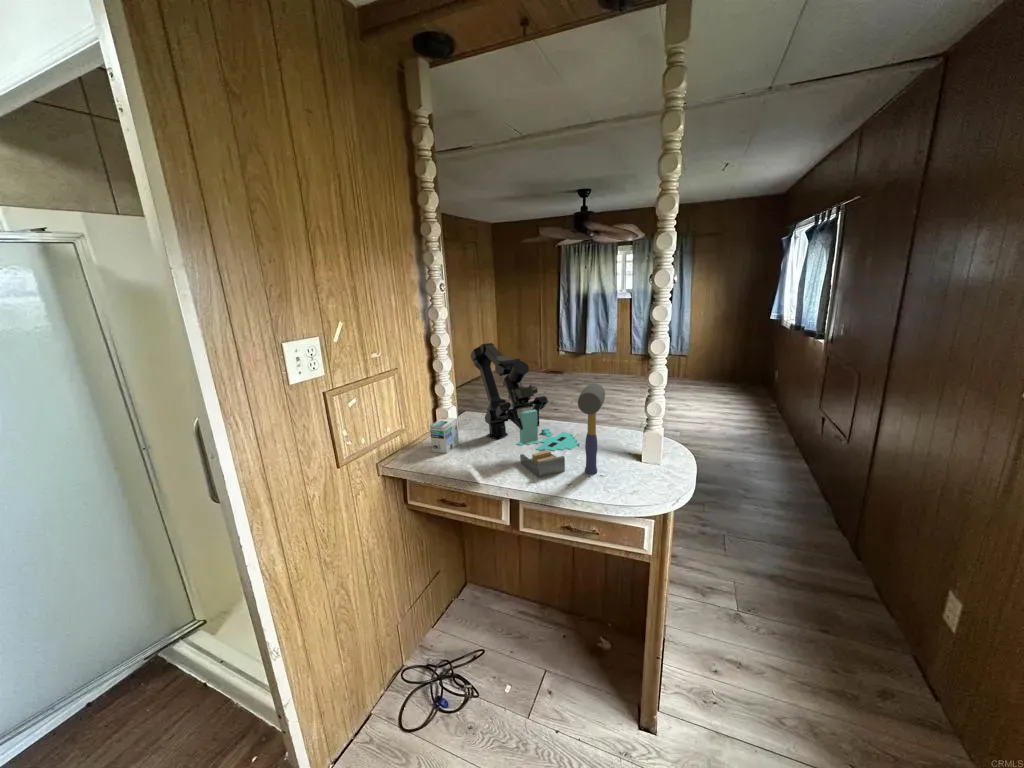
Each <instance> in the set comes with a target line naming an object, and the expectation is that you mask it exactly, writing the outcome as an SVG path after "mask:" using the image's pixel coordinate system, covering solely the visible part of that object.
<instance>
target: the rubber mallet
mask: <svg viewBox="0 0 1024 768" xmlns="http://www.w3.org/2000/svg"><path fill="white" fill-rule="evenodd" d="M605 397H606V390H605V389H604V387H603V386H602V385H601V384H599V383H595V382H594V383H589V384H588V385H586V386H585V387H584V388H583V389H582V391H581V392H580V394H579V396H578V399H577V406H578V407H577V408H579V411H581V413H584V414H585V415H587V433H586V436H585V445H584V447H585V468H584V473H585V474H586V475H592V476H593V475H597V473H598V467H597V453H598V435H597V413H598V412H599V411H600V409H601V408H602V407H603V404H604V402H605V399H606V398H605Z"/></svg>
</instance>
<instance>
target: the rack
mask: <svg viewBox="0 0 1024 768" xmlns="http://www.w3.org/2000/svg"><path fill="white" fill-rule="evenodd" d="M545 450H546V449H542V451H545ZM551 456H554V457H555V458H553V459H549V460H545V461H541V462H537V465H536V464H535V463H534V462H532V457H531V458H529V457H527V456H526V455H525V454H523V453H521V454H519V457H520V458H519V459H520V460H519V461H518V463H519V464H521V465H522V466H523V467H524V468H525V469H527V470H528V471H529V472H530V473H532V474H533V475H534V476H535V478H537V479H541V478H545V477H549V476H552V475H556V474H560V473H564V472H566V467H565V465H566V461H565V459H566V458H565V456H564V455H560V456H556V455H555V454H553V453H551Z"/></svg>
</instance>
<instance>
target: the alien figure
mask: <svg viewBox="0 0 1024 768" xmlns="http://www.w3.org/2000/svg"><path fill="white" fill-rule="evenodd" d="M542 433H543V434H542ZM541 434H542V435H543V436H545V437H546V438H544V439H543V440H541V441H540V440H539V441H533V442H529V443H525V444H522V443H521V442H520V441H519V442H517V443H515V444H516V445H517V446H523V445H527V446H530V445H532V444H535V445H538V444H540V443H542V444H540V445H539V446H538V447H537V448H535V450H536V451H538V452H541V451H542V449H546V450H549V451H550V452H555V451H557V450H558V451H564V450H570V451H572V449H574V448H575V447H578V448H580V442H578V440H577V439H576V436H573V433H569V432H564V431H561V433H559V434H557V435H555V436H553V434H552V432H551V431H550V428H547V427H544V428H542V429H541Z"/></svg>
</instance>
